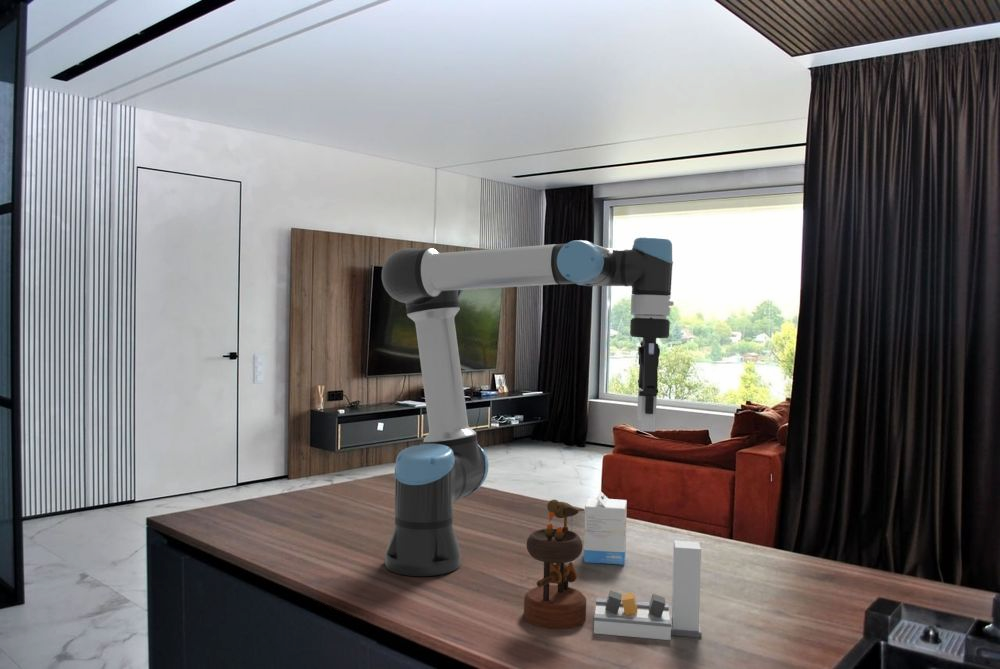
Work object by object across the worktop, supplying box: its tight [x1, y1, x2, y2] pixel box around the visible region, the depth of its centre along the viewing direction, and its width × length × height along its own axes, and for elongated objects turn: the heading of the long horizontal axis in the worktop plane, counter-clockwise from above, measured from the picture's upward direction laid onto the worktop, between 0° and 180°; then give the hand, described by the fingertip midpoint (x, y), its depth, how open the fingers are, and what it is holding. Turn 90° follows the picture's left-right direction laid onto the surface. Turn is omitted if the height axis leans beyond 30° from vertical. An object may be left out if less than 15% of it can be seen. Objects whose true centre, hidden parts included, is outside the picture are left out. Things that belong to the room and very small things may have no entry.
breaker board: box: [593, 597, 672, 641], centre depth 126 cm, size 12×9×2 cm
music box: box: [523, 499, 587, 630], centre depth 128 cm, size 15×11×20 cm
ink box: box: [583, 490, 628, 566], centre depth 161 cm, size 9×8×13 cm
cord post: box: [670, 539, 703, 638], centre depth 124 cm, size 5×5×14 cm
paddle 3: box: [649, 593, 666, 618], centre depth 125 cm, size 2×3×2 cm
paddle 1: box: [605, 590, 623, 614], centre depth 127 cm, size 2×3×2 cm
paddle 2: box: [621, 591, 638, 615], centre depth 126 cm, size 2×3×2 cm
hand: (645, 425), depth 150 cm, fingers open, 13 cm apart
